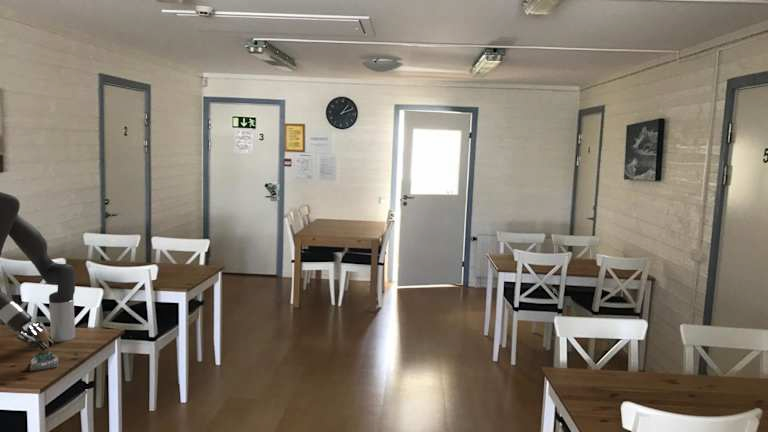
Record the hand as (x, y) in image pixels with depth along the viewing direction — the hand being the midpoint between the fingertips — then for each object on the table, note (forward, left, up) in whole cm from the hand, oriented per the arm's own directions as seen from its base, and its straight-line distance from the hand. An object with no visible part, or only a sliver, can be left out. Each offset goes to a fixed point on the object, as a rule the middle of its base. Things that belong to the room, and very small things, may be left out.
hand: (48, 347), depth 219 cm
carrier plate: (-1, -2, -7) cm, 8 cm away
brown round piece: (-1, -2, -4) cm, 5 cm away
